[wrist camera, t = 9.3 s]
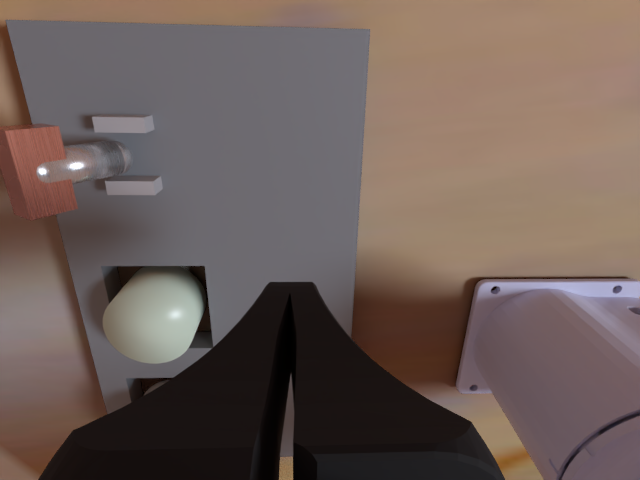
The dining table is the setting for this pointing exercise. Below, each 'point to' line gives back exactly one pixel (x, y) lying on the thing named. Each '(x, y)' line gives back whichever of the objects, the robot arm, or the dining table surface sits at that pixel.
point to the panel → (205, 165)
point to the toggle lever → (53, 167)
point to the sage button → (155, 314)
